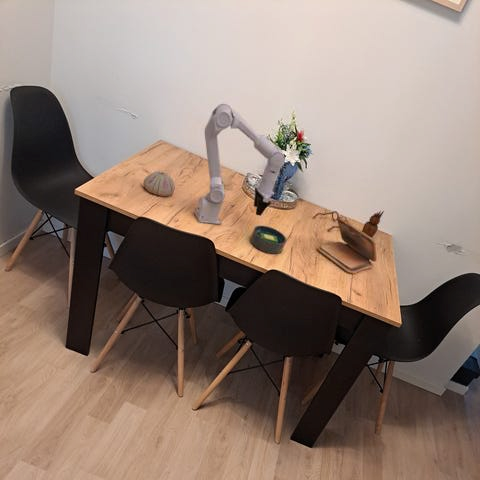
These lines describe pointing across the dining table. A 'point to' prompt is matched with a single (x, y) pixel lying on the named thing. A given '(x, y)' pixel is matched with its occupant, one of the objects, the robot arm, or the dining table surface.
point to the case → (351, 249)
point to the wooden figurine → (372, 225)
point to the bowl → (265, 244)
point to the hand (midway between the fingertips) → (257, 210)
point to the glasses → (332, 218)
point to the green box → (269, 237)
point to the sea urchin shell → (159, 183)
